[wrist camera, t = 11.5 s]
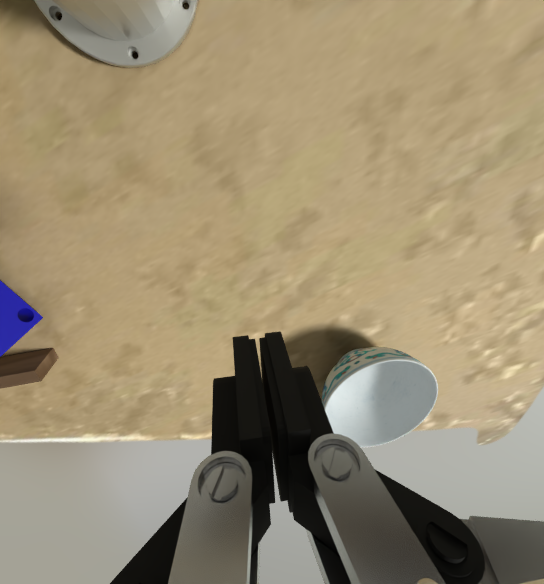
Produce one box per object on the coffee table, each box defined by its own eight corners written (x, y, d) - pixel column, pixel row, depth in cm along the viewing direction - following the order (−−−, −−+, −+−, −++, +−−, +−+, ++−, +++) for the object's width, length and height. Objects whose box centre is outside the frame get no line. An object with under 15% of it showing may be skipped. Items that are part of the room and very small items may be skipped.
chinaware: (310, 411, 48) (325, 457, 41) (304, 334, 41) (321, 373, 34) (400, 393, 49) (430, 434, 42) (410, 314, 42) (446, 349, 35)
